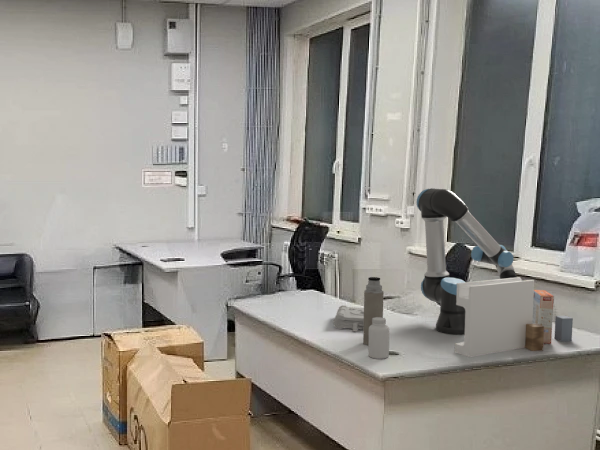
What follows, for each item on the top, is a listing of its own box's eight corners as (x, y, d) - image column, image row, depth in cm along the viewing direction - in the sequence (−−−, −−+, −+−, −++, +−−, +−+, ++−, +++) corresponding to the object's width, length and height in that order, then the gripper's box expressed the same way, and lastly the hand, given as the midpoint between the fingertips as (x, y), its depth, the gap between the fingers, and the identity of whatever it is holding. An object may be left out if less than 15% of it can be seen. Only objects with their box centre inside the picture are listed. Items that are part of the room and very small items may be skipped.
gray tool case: (332, 331, 276) (332, 315, 276) (337, 317, 304) (338, 302, 303) (375, 334, 274) (375, 318, 273) (376, 320, 301) (377, 305, 301)
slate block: (561, 341, 264) (562, 318, 264) (554, 338, 269) (555, 315, 269) (571, 340, 265) (572, 318, 264) (564, 337, 270) (565, 315, 269)
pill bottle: (366, 353, 242) (367, 316, 241) (386, 353, 243) (387, 316, 242) (370, 359, 234) (371, 321, 233) (390, 359, 235) (391, 320, 234)
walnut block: (531, 351, 249) (532, 326, 248) (525, 347, 254) (526, 323, 253) (543, 350, 250) (544, 326, 249) (536, 347, 255) (537, 323, 254)
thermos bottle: (365, 340, 262) (367, 275, 260) (383, 342, 259) (385, 276, 257) (361, 344, 254) (362, 278, 252) (380, 347, 252) (381, 279, 250)
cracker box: (552, 344, 259) (554, 295, 258) (537, 343, 260) (539, 295, 258) (543, 335, 273) (546, 289, 271) (529, 335, 274) (531, 289, 272)
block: (468, 357, 239) (471, 286, 237) (454, 351, 246) (456, 283, 244) (531, 346, 256) (534, 280, 254) (516, 341, 263) (518, 277, 261)
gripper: (516, 277, 300) (532, 319, 285) (491, 278, 298) (506, 319, 283) (522, 268, 294) (539, 310, 279) (497, 268, 292) (513, 311, 277)
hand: (523, 315), depth 281 cm, fingers closed
